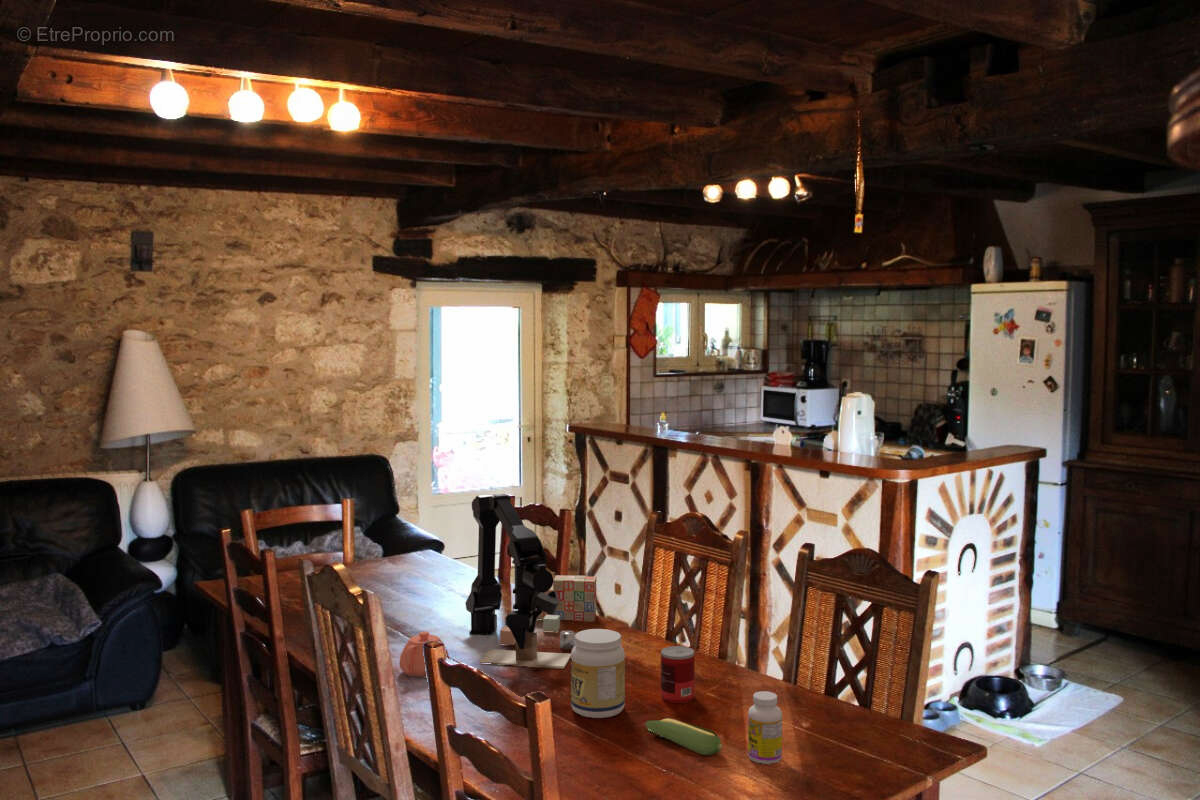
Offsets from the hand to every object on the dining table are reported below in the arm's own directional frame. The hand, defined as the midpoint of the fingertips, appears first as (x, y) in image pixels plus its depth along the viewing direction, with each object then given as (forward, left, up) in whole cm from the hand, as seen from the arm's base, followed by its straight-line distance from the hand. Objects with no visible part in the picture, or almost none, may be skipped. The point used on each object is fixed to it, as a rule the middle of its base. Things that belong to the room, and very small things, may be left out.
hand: (526, 643), depth 253 cm
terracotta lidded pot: (-23, -14, -5) cm, 27 cm away
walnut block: (0, 0, -4) cm, 4 cm away
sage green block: (+1, +26, -5) cm, 27 cm away
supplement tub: (+24, -30, -5) cm, 39 cm away
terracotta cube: (-8, +13, -5) cm, 16 cm away
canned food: (+41, -20, -5) cm, 46 cm away
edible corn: (+44, -45, -5) cm, 63 cm away
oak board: (0, 0, -4) cm, 4 cm away
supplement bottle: (+61, -50, -5) cm, 79 cm away
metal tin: (+8, +12, -4) cm, 15 cm away
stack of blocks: (+1, +39, -5) cm, 39 cm away
